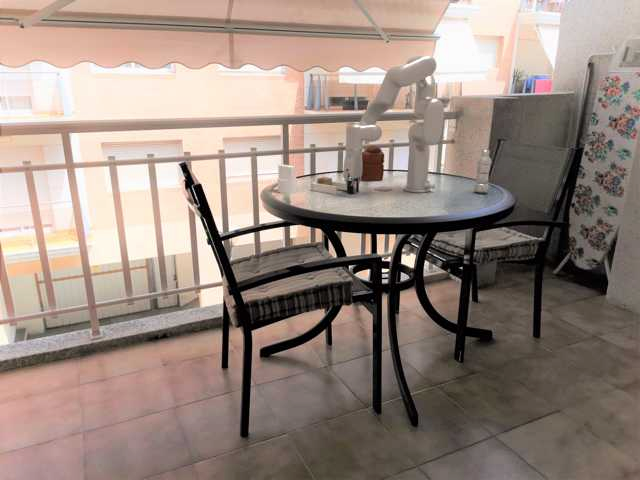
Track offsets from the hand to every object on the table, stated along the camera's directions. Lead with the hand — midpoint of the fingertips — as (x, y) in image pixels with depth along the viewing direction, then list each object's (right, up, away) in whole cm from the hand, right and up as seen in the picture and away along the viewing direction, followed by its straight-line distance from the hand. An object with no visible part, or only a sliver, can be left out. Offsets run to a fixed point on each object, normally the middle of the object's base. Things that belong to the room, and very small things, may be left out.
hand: (352, 192), depth 217 cm
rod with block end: (-7, +1, +5) cm, 8 cm away
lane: (-11, +2, +7) cm, 13 cm away
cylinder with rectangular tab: (-30, +1, +5) cm, 31 cm away
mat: (-1, -1, +1) cm, 1 cm away
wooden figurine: (+12, +9, +32) cm, 35 cm away
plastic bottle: (+60, 0, +5) cm, 60 cm away
